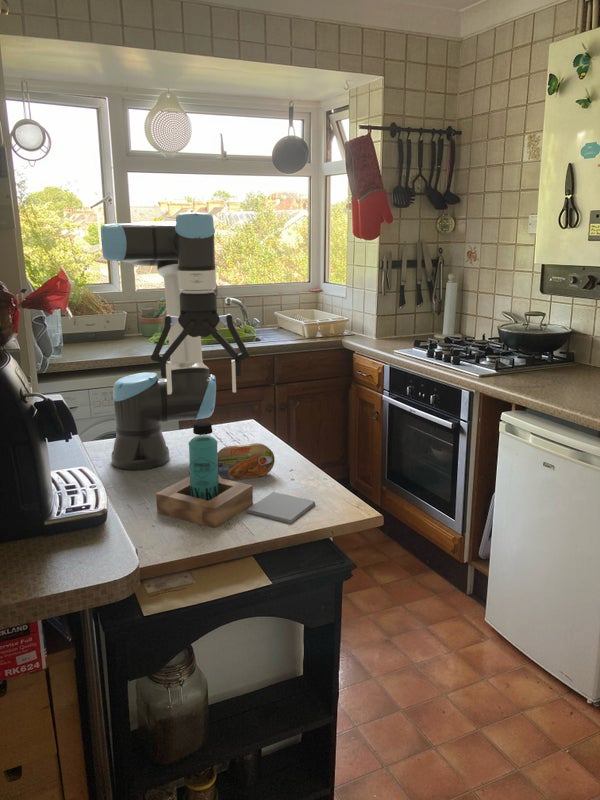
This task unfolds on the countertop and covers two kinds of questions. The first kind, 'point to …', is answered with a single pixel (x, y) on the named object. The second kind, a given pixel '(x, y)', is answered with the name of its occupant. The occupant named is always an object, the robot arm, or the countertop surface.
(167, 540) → the countertop surface
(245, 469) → the tin
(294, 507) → the slate mat
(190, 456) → the beverage bottle
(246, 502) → the walnut bottle holder
